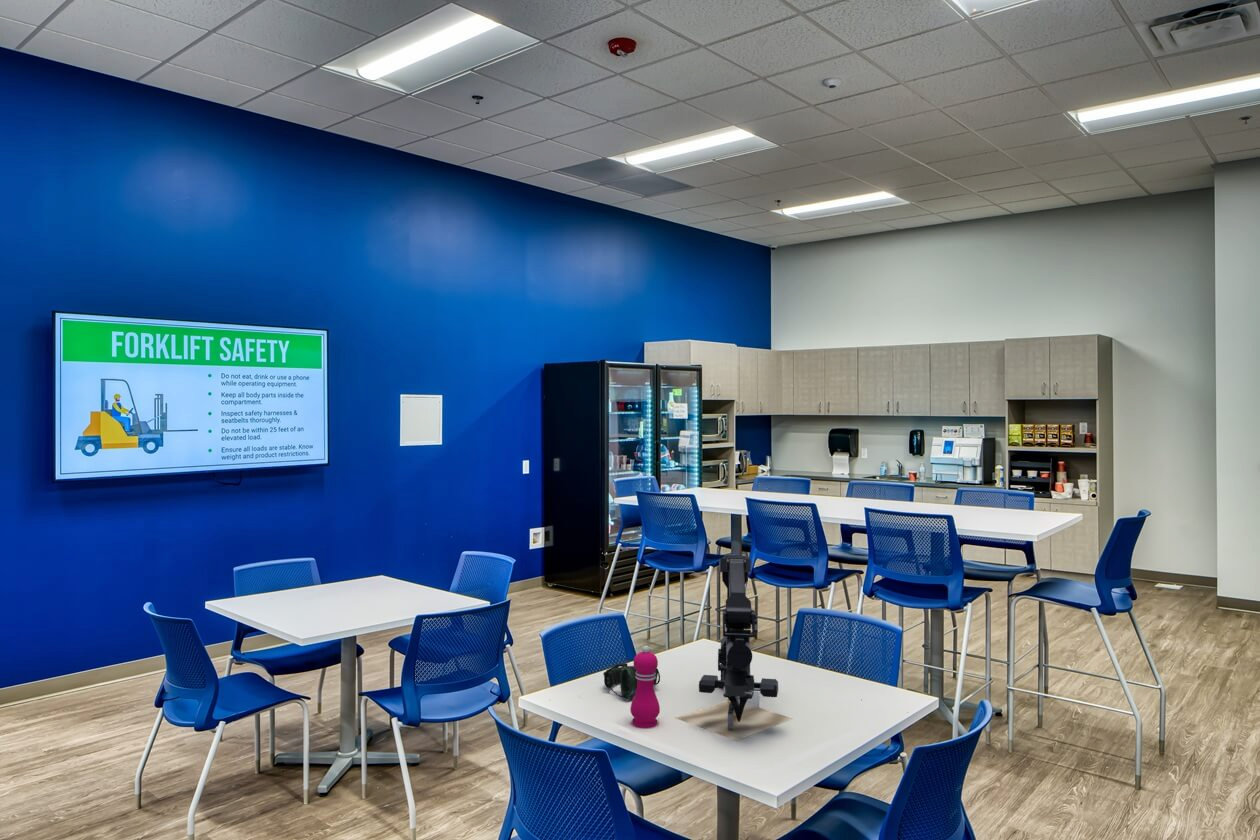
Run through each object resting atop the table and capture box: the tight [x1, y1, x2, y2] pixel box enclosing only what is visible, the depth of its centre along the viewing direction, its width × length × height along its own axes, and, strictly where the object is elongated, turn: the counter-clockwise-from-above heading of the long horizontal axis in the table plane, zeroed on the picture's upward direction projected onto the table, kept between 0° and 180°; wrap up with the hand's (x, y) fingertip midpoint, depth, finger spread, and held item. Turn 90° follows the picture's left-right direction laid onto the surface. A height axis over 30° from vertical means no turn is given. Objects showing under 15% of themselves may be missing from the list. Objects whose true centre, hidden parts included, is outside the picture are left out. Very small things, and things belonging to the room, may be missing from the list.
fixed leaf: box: [727, 691, 761, 718], centre depth 210 cm, size 11×2×4 cm, turn 133°
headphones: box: [603, 662, 661, 701], centre depth 229 cm, size 13×13×20 cm
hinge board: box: [674, 699, 794, 741], centre depth 206 cm, size 20×22×1 cm
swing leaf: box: [728, 702, 734, 730], centre depth 202 cm, size 11×2×4 cm, turn 170°
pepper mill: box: [629, 645, 661, 729], centre depth 201 cm, size 7×7×20 cm
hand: (739, 721), depth 199 cm, fingers closed
